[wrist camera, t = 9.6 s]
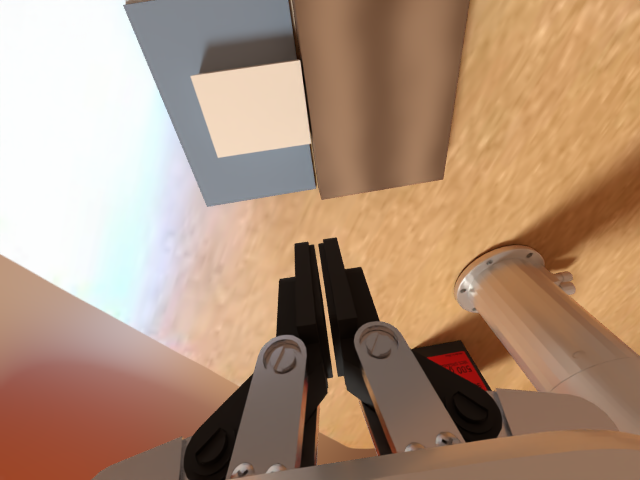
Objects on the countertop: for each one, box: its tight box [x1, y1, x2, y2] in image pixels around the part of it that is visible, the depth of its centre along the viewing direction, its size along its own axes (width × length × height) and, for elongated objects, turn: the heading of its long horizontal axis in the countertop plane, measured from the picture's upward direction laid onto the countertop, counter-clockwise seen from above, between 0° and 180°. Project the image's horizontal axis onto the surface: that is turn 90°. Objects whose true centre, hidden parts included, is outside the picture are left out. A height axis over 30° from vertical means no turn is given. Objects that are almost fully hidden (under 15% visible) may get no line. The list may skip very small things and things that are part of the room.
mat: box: [123, 0, 316, 207], centre depth 24 cm, size 11×16×1 cm
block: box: [190, 59, 311, 158], centre depth 22 cm, size 8×6×2 cm
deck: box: [292, 0, 470, 200], centre depth 23 cm, size 12×16×3 cm
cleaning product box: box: [412, 340, 492, 391], centre depth 45 cm, size 16×9×20 cm, turn 7°
